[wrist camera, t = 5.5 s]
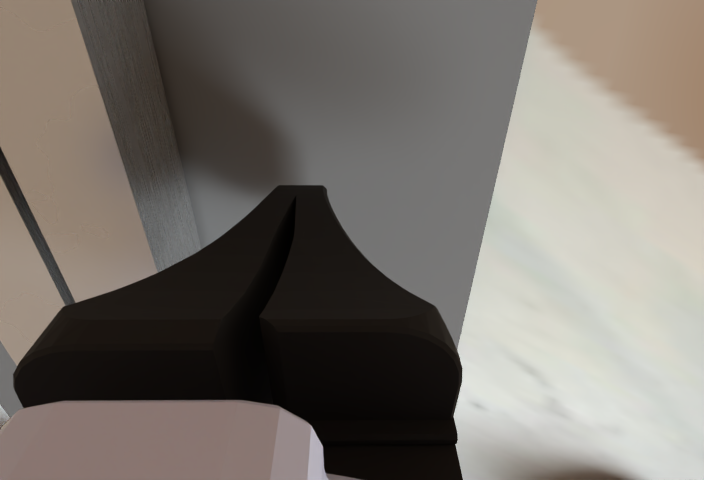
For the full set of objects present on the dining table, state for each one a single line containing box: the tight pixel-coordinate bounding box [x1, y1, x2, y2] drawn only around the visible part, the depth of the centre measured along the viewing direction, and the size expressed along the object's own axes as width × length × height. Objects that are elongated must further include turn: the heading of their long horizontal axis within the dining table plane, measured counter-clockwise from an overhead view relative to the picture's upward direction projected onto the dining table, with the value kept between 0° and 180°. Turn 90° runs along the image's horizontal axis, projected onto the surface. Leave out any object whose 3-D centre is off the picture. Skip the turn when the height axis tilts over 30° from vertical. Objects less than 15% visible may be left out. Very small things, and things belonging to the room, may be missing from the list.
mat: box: [0, 0, 537, 418], centre depth 14 cm, size 20×27×1 cm
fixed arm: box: [0, 147, 76, 366], centre depth 11 cm, size 18×2×3 cm, turn 179°
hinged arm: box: [0, 0, 201, 303], centre depth 12 cm, size 21×4×3 cm, turn 179°
